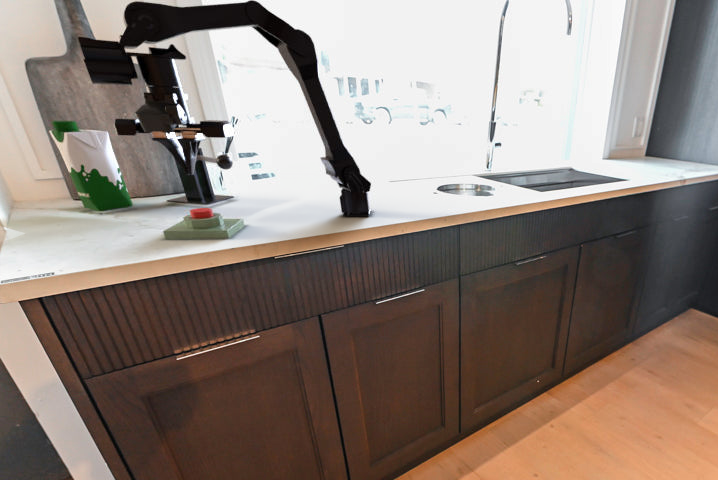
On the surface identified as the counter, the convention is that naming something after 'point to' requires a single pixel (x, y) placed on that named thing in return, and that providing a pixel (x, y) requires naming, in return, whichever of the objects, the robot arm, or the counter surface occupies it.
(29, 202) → the counter surface
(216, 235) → the button block
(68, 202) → the counter surface
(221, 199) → the bracket
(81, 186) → the milk carton
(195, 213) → the button
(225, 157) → the lever
